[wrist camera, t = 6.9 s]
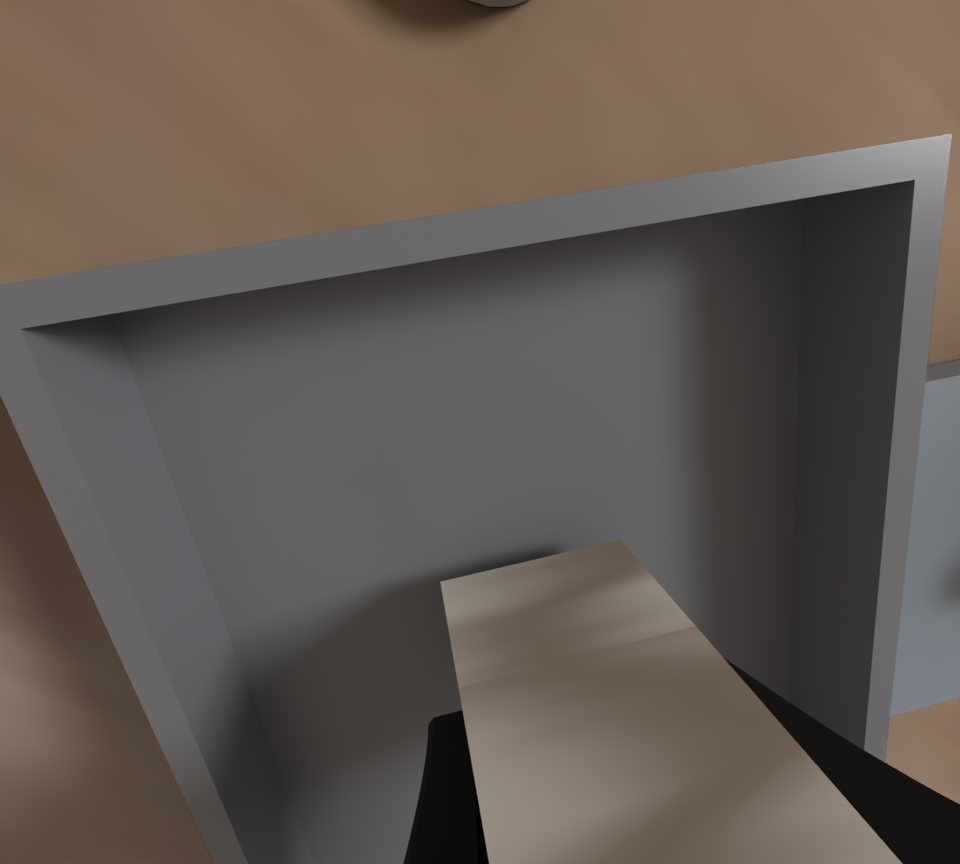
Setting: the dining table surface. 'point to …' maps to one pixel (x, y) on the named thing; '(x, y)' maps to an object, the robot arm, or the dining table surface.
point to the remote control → (498, 2)
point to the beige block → (627, 729)
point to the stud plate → (933, 555)
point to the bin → (482, 460)
